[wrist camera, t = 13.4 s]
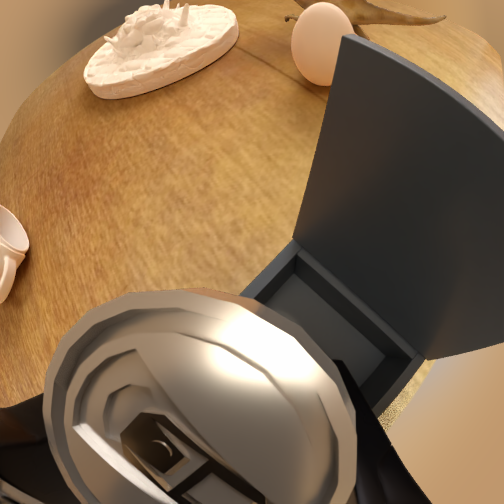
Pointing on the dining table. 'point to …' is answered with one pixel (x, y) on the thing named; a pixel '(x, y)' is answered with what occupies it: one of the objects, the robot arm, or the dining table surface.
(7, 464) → the robot arm
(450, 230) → the lid
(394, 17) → the dinosaur figurine
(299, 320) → the grey open square box
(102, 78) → the cake
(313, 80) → the egg
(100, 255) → the dining table surface
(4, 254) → the mug
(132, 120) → the dining table surface
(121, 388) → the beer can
